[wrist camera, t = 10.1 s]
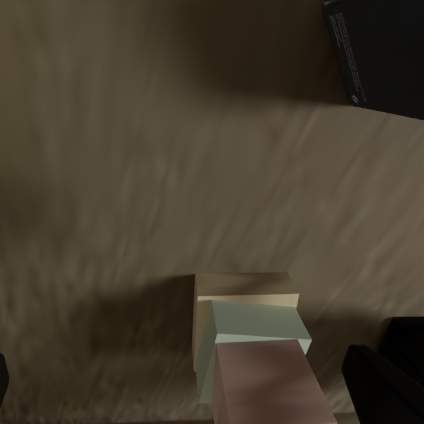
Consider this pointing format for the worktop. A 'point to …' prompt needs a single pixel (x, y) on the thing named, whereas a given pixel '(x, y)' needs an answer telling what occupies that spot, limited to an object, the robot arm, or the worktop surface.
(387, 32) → the small box
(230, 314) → the sage top block
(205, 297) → the beech base block
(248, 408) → the rose cube
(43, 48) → the worktop surface
